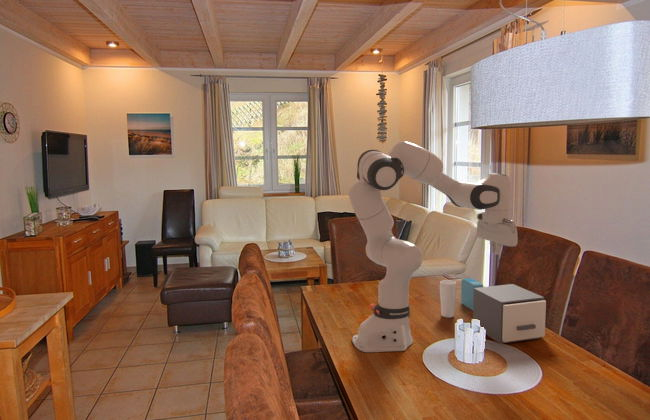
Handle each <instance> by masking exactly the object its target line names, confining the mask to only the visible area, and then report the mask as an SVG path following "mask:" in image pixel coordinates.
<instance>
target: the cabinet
mask: <svg viewBox="0 0 650 420" xmlns="http://www.w3.org/2000/svg"><path fill="white" fill-rule="evenodd" d="M540 300H545V297H544V296H543V295H540V294H539V293H538V294H537V293H535V292H533V291H530V290H528V289H526V288H523V287H521V286H519V285H517V284H513V283H507V284H501V285H490V286H484V287H480V288H474V294H473V311H472V320H473V319H478V320H480V325H481V327H484V328H485V329H486V334H487V335H486V334H485V335H486V336H488V337H489V338H491V339H492V340H494V341H495V342H497V343H499V344H500V343H502V344H507V343H508V344H509V343H514V342H523V341H529V340H537V339H543V337H538V338H530V339H523V340H516V341H509V342H503V341H502V326H503V305H506V304H514V303H523V302H531V301H540Z"/></svg>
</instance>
